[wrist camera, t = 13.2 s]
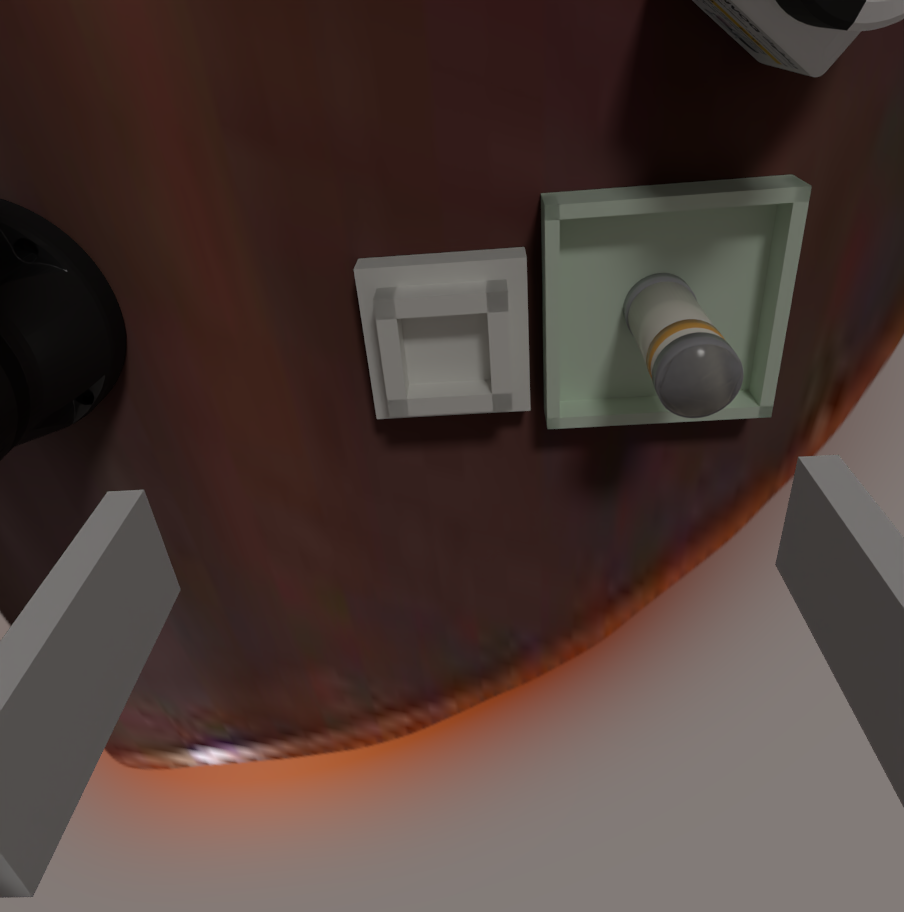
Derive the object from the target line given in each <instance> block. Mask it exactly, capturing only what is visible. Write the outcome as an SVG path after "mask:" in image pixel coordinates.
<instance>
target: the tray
mask: <svg viewBox="0 0 904 912" xmlns="http://www.w3.org/2000/svg"><path fill="white" fill-rule="evenodd" d="M811 187H812V186H811V185H809V184H808V183H806V182H804V181H803V180H801V179H799V178H797V177H796V176H794V175H779V176H766V177H752V178H739V179H726V180H713V181H700V182H686V183H673V184H660V185H647V186H633V187H620V188H607V189H594V190H581V191H567V192H554V193H541V244H542V314H543V384H544V412H545V418H546V424H547V429H563V428H581V427H600V426H618V425H636V424H654V423H673V422H691V421H709V420H727V419H746V418H764V417H771V415H772V409H773V403H774V398H775V392H776V386H777V381H778V375H779V369H780V364H781V358H782V352H783V347H784V341H785V335H786V329H787V324H788V318H789V312H790V307H791V301H792V295H793V290H794V284H795V278H796V272H797V267H798V261H799V255H800V250H801V244H802V238H803V233H804V227H805V221H806V216H807V210H808V204H809V198H810V193H811ZM656 273H670V274H673V275H676V276H678V277H680V278H682V279H683V280H684V281H685V282H686V283H687V284H688V286H689V287H690V289H691V290H692V291H693V293H694V294H695V297H696V299H697V302H698V303H699V305H700V306H701V308H702V309H703V310H704V312H705V313H706V315H707V316H708V318H709V319H710V321H711V322H712V324H713V325H714V326H715V328H717V330H718V331H719V332H720V333H721V335H722V336H723V338H724V339H725V341H727V342H728V343H729V345H730V346H731V347H732V349H733V350H734V351H735V353H736V354H737V356H738V357H739V359H740V361H741V363H742V366H743V373H744V375H743V382H742V385H741V388H740V390H739V392H738V394H737V395H736V397H735V398H734V399H733V400H732V402H731V403H730V404H728V405H727V406H726V407H725V408H723V409H722V410H720V411H719V412H717V413H714V414H712V415H709V416H706V417H702V418H685V417H680V416H678V415H675V414H673V413H671V412H670V411H669V410H667V409H666V408H665V407H664V406H663V404H662V403H661V401H660V399H659V397H658V395H657V393H656V390H655V388H654V385H653V382H652V379H651V377H650V374H649V372H648V369H647V365H646V363H645V361H644V358H643V356H642V354H641V352H640V349H639V347H638V345H637V343H636V340H635V338H634V337H633V336H632V334H631V333H630V331H629V329H628V327H627V324H626V322H625V319H624V316H623V304H624V300H625V298H626V296H627V294H628V292H629V291H630V289H631V288H632V287H633V286H634V285H635V284H636V283H637V282H638V281H640V280H641V279H643V278H645V277H646V276H649V275H652V274H656Z"/></svg>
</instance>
